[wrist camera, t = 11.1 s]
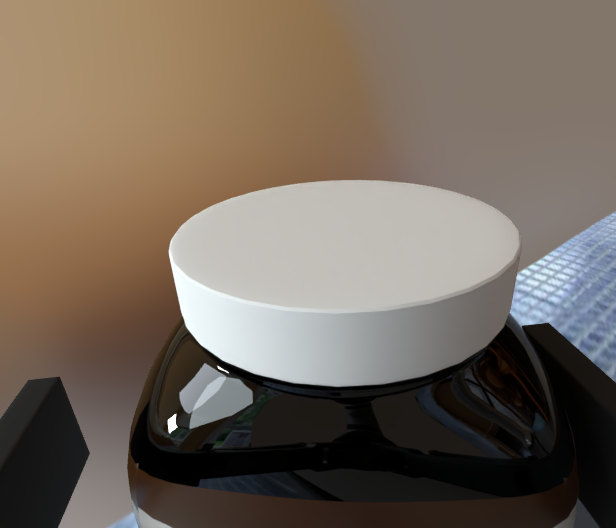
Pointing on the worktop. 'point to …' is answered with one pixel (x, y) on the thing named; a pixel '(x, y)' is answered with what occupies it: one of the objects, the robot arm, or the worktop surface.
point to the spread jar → (350, 370)
